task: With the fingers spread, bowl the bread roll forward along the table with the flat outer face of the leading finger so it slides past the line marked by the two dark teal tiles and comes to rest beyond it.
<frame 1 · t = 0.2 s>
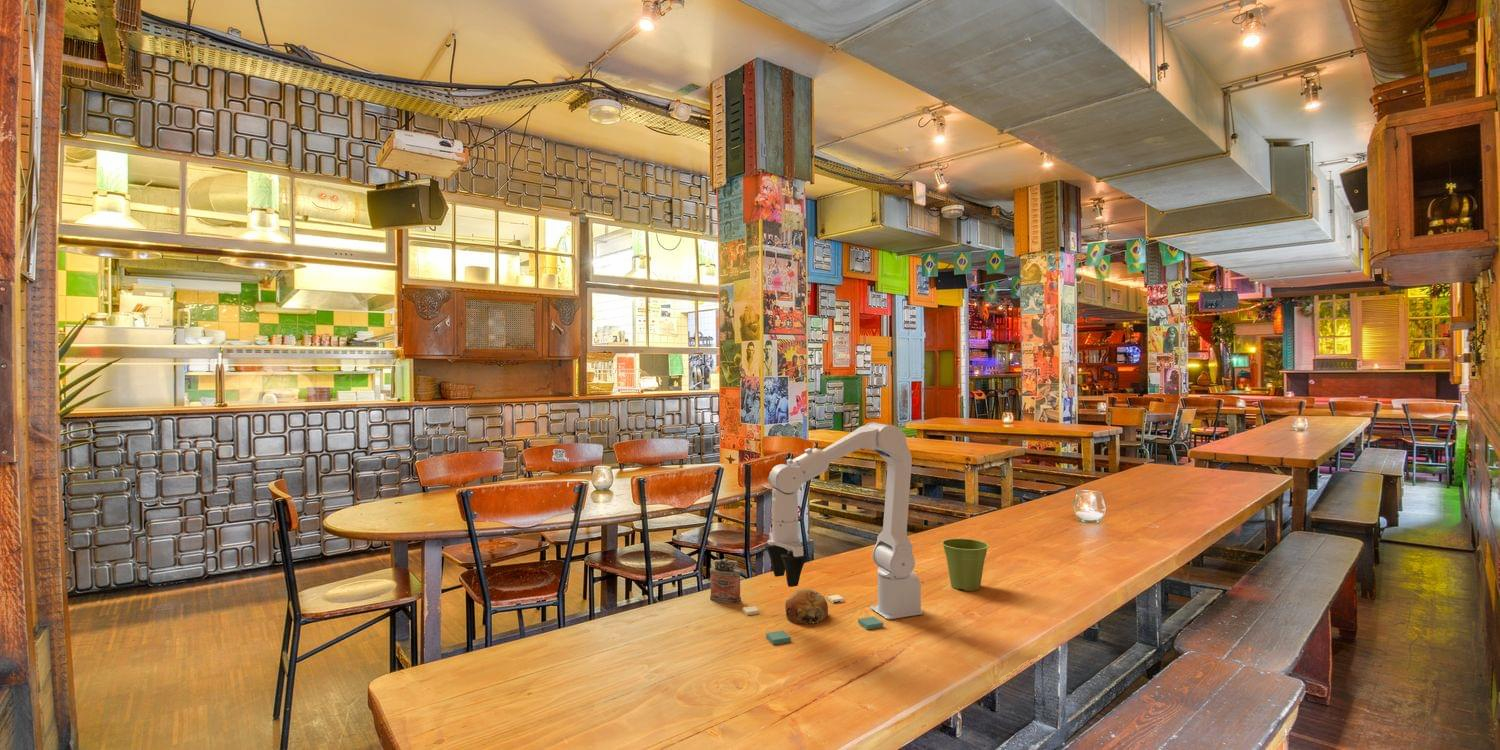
hand: (785, 580, 148), 10 cm above the table, tool pointing down, fingers open, 7 cm apart
lighter: (725, 601, 165), on the table
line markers: (825, 632, 145), on the table
bread roll: (806, 618, 154), on the table
plant pot: (965, 587, 174), on the table
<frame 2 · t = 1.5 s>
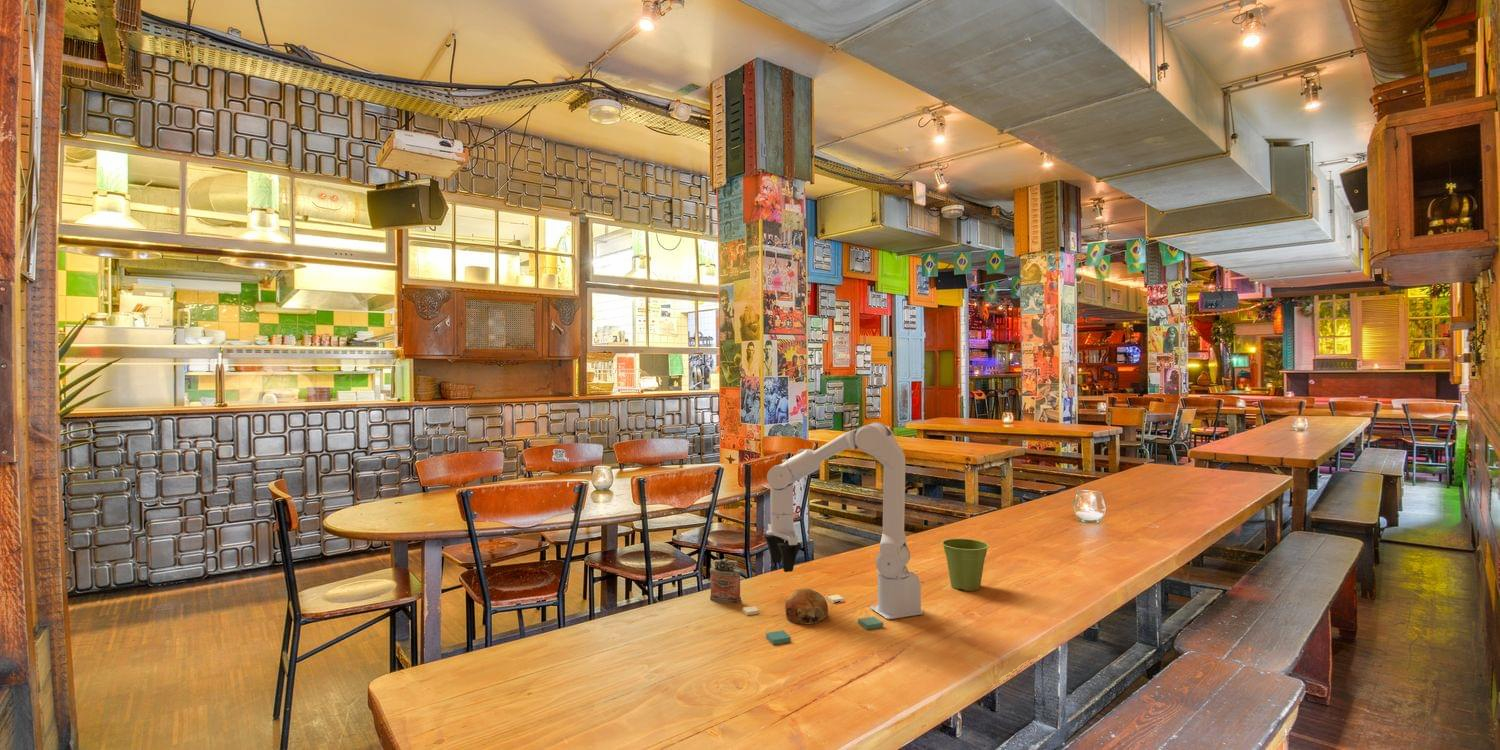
hand: (782, 567, 167), 7 cm above the table, tool pointing down, fingers open, 7 cm apart
nothing on the table moved.
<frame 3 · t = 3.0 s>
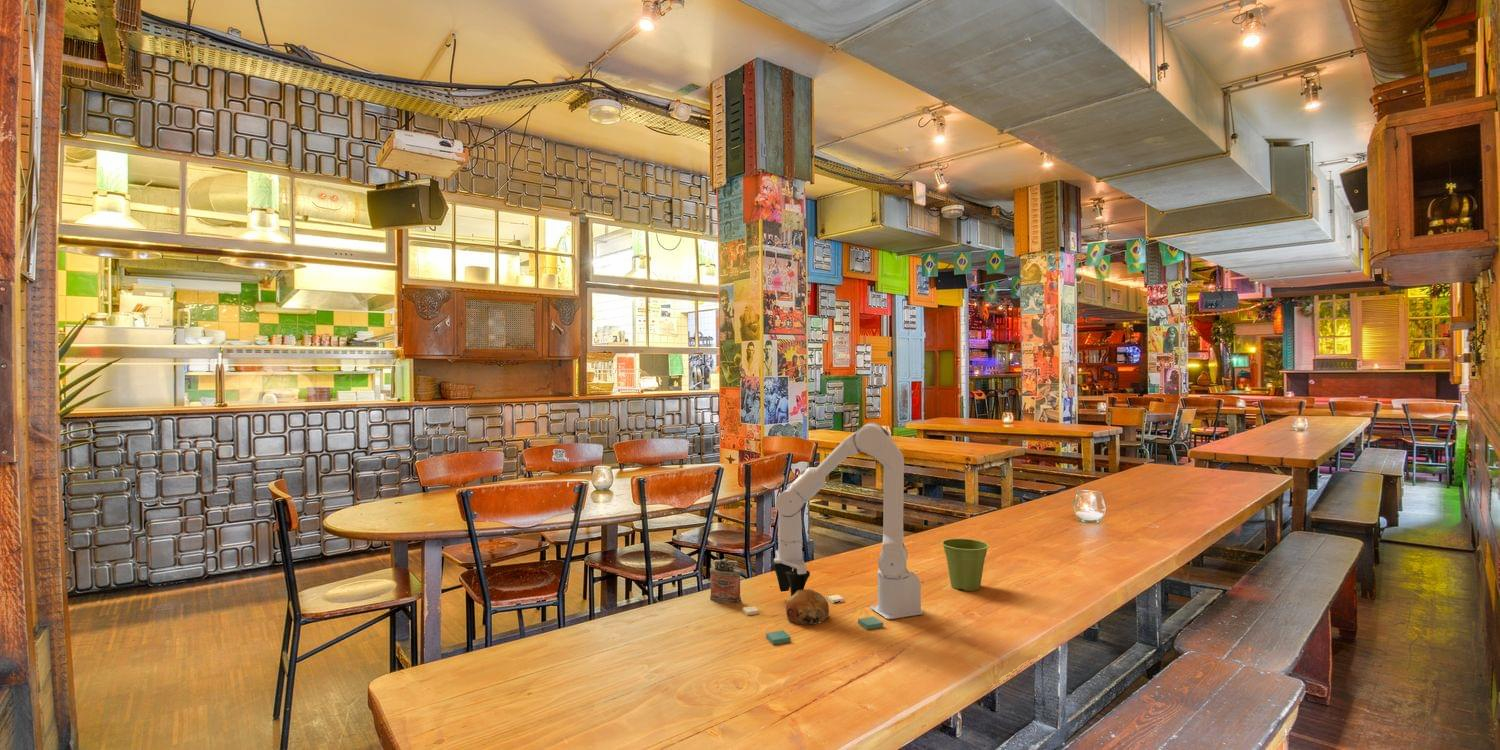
hand: (790, 595, 162), 2 cm above the table, tool pointing down, fingers open, 7 cm apart
bread roll: (806, 618, 153), on the table, touching gripper
everything else where it was.
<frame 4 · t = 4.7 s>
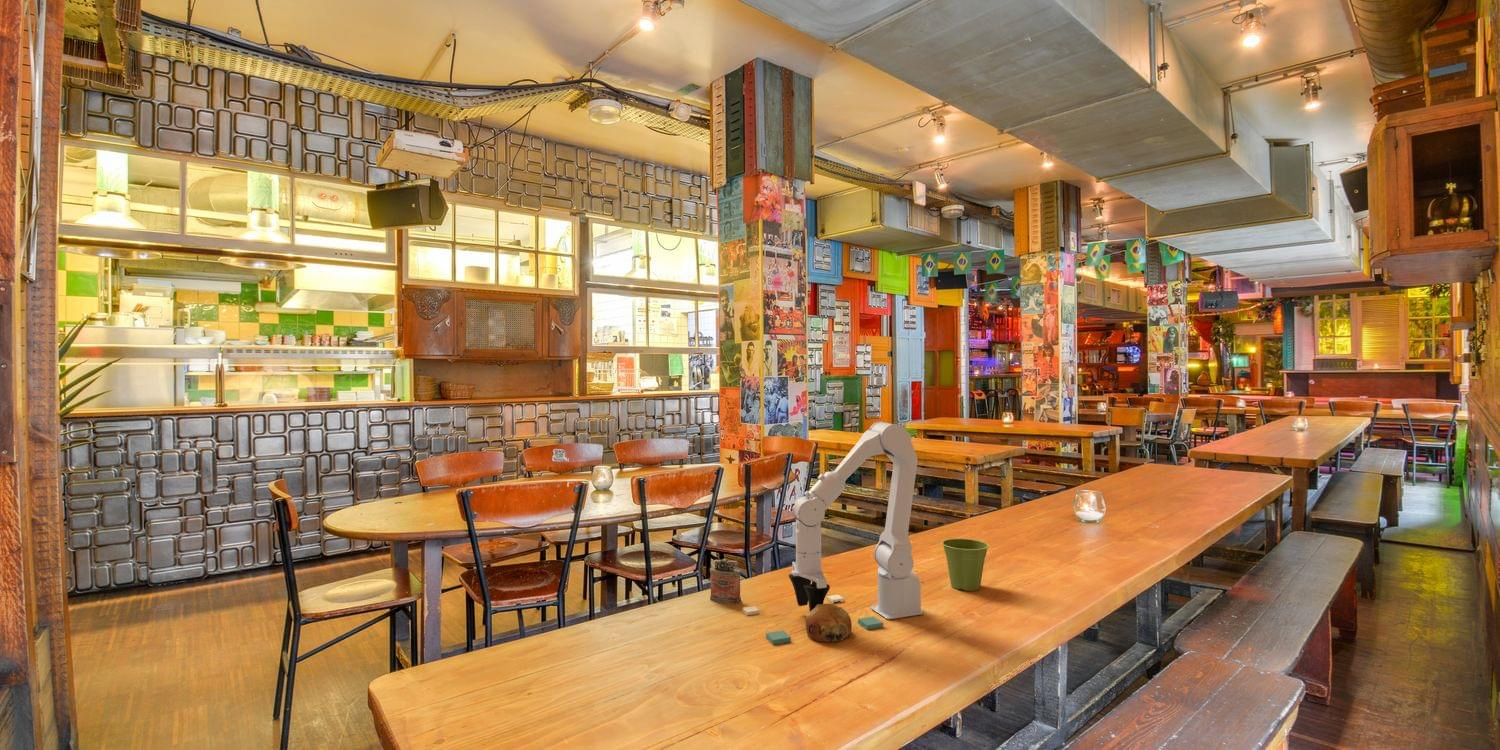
hand: (809, 610, 153), 2 cm above the table, tool pointing down, fingers open, 6 cm apart
bread roll: (828, 635, 144), on the table, touching gripper
everything else where it was.
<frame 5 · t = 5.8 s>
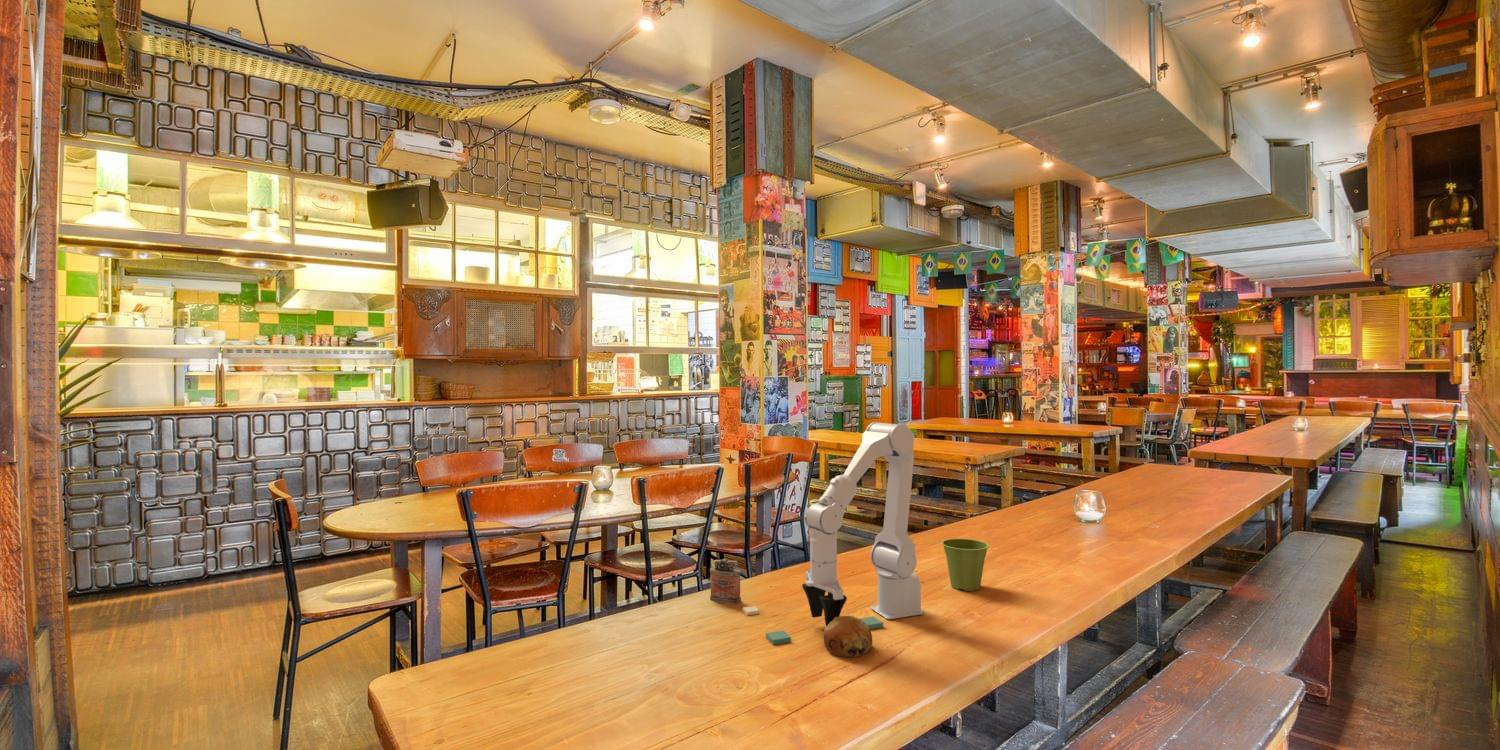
hand: (824, 622, 145), 2 cm above the table, tool pointing down, fingers open, 7 cm apart
bread roll: (847, 649, 136), on the table, touching gripper
everything else where it was.
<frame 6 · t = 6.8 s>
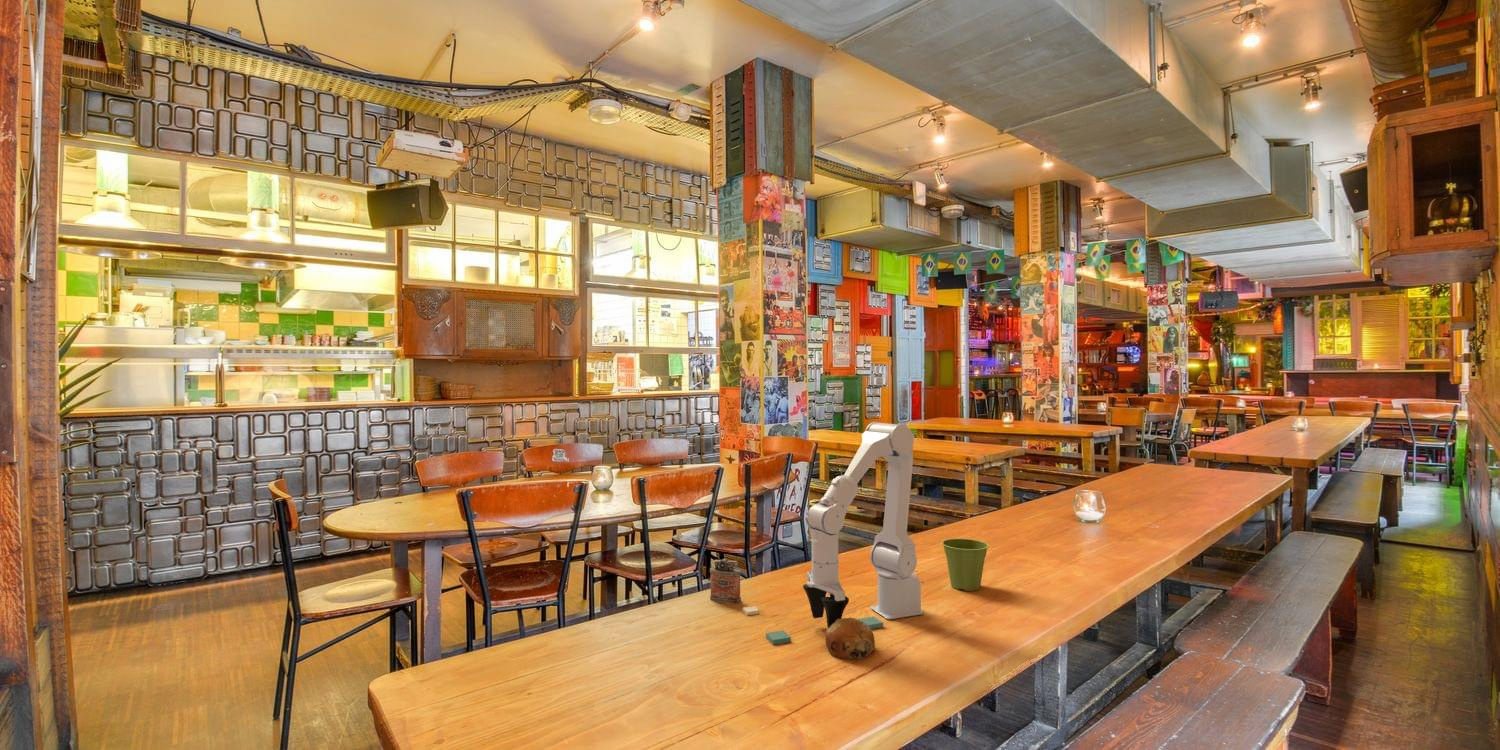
hand: (825, 623, 145), 2 cm above the table, tool pointing down, fingers open, 7 cm apart
bread roll: (849, 651, 136), on the table
everything else where it was.
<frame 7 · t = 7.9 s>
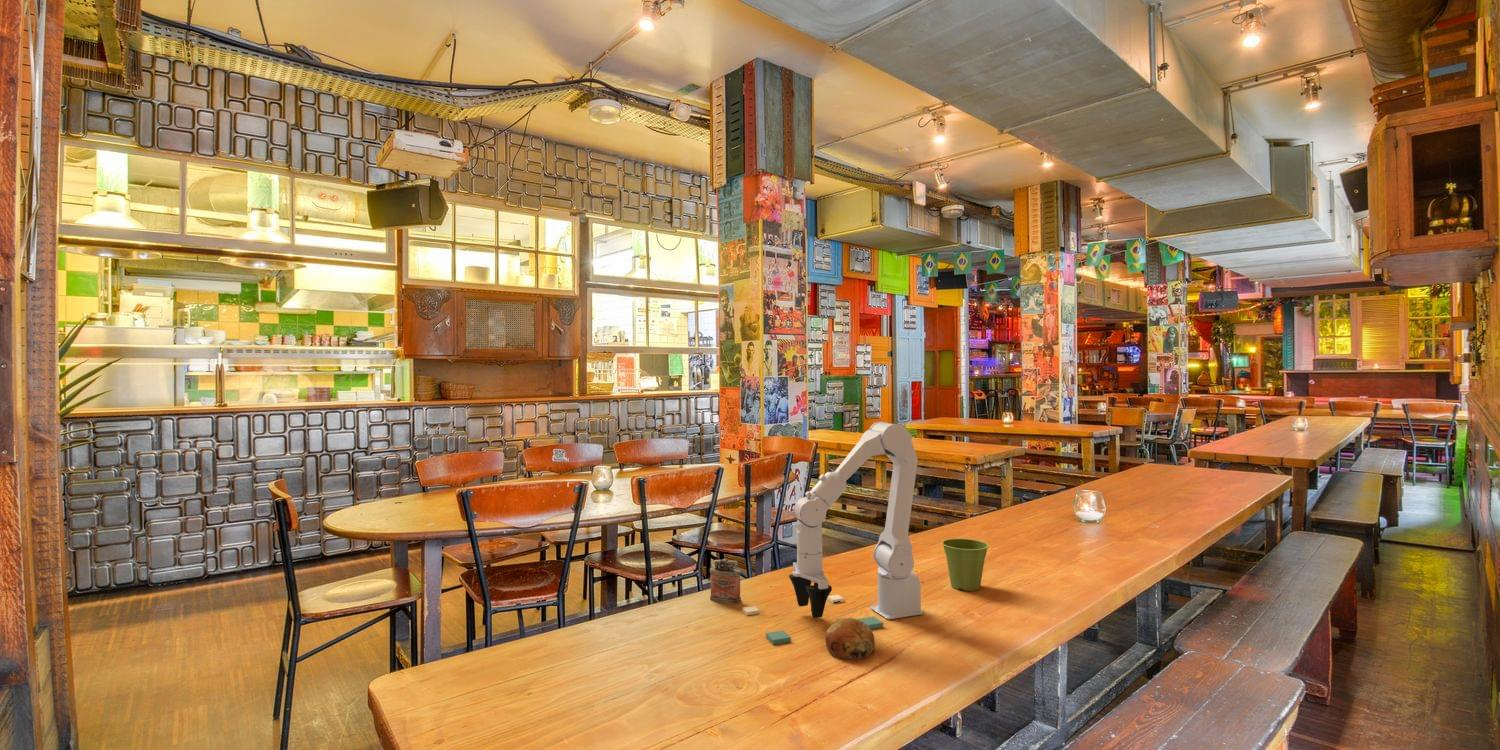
hand: (810, 611, 152), 2 cm above the table, tool pointing down, fingers open, 7 cm apart
nothing on the table moved.
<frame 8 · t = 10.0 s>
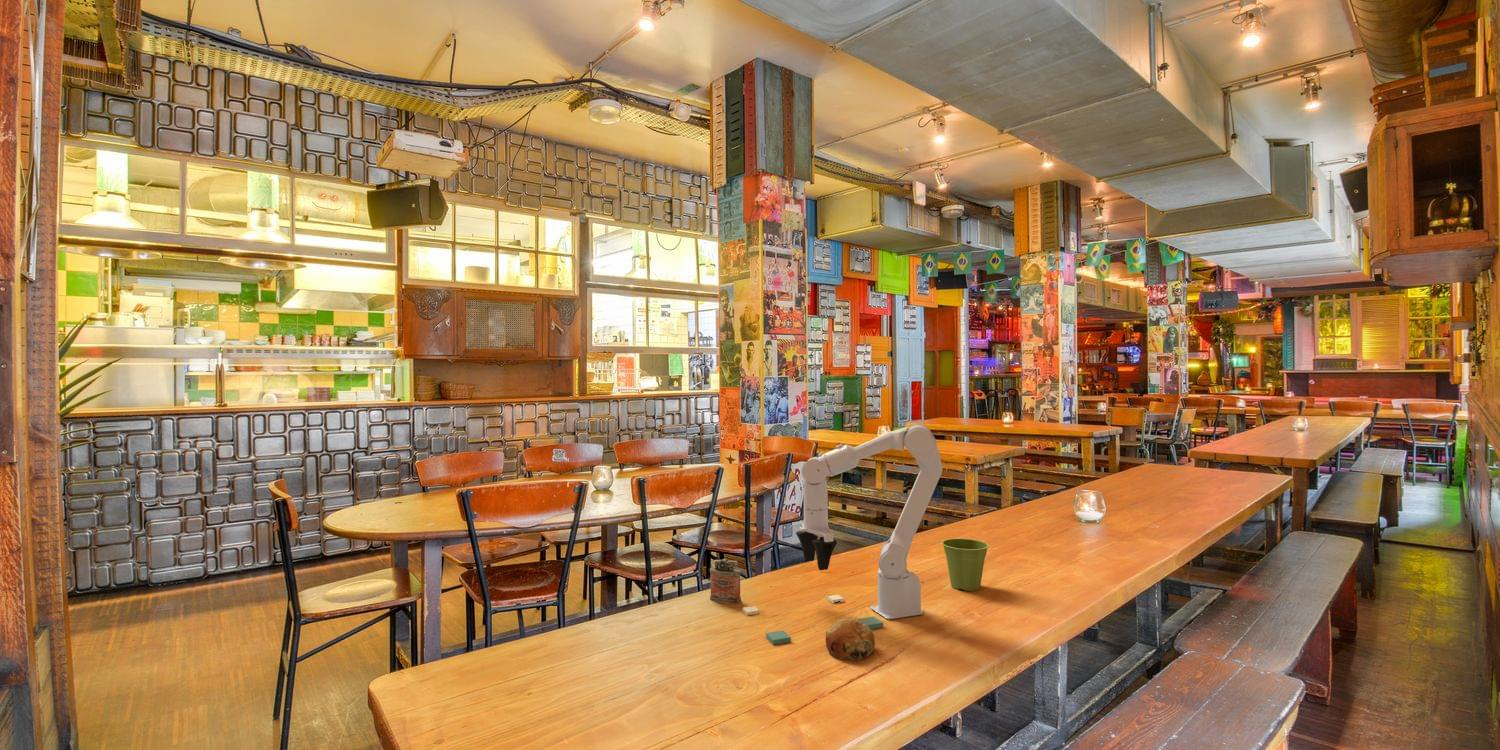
hand: (816, 565, 160), 10 cm above the table, tool pointing down, fingers open, 7 cm apart
nothing on the table moved.
at the end: bread roll inside the target area (4.8 cm from its centre), on the table; the gripper is holding nothing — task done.
